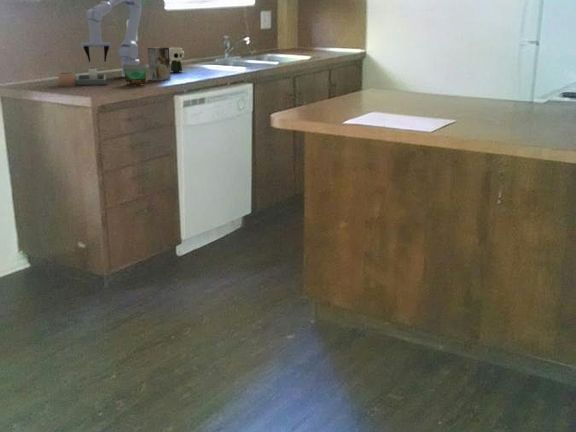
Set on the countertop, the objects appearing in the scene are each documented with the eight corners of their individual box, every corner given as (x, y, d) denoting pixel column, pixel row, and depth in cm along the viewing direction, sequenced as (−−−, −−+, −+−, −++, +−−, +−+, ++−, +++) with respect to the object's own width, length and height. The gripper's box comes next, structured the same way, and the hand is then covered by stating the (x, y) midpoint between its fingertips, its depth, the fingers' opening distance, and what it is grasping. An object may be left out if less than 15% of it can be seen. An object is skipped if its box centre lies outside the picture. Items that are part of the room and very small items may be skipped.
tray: (106, 79, 376) (105, 74, 375) (105, 84, 357) (105, 79, 356) (77, 80, 373) (77, 75, 372) (76, 85, 354) (75, 80, 353)
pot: (76, 84, 359) (75, 71, 357) (75, 86, 351) (74, 73, 349) (59, 84, 357) (58, 71, 355) (58, 86, 350) (57, 73, 348)
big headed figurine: (171, 73, 402) (170, 49, 398) (164, 72, 407) (163, 48, 403) (188, 72, 409) (187, 48, 405) (181, 70, 414) (180, 47, 410)
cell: (97, 80, 369) (96, 66, 367) (97, 81, 365) (96, 67, 363) (89, 80, 368) (88, 67, 366) (89, 81, 364) (88, 67, 362)
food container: (126, 86, 351) (125, 65, 348) (123, 85, 357) (122, 64, 354) (151, 85, 357) (150, 64, 354) (147, 83, 362) (146, 63, 359)
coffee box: (163, 78, 383) (161, 46, 378) (170, 79, 379) (169, 47, 374) (148, 79, 377) (147, 47, 372) (156, 80, 373) (155, 48, 368)
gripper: (80, 34, 362) (82, 62, 366) (110, 34, 365) (112, 62, 369) (80, 33, 368) (82, 61, 373) (110, 33, 372) (112, 60, 376)
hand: (97, 61), depth 371 cm, fingers open, 7 cm apart
